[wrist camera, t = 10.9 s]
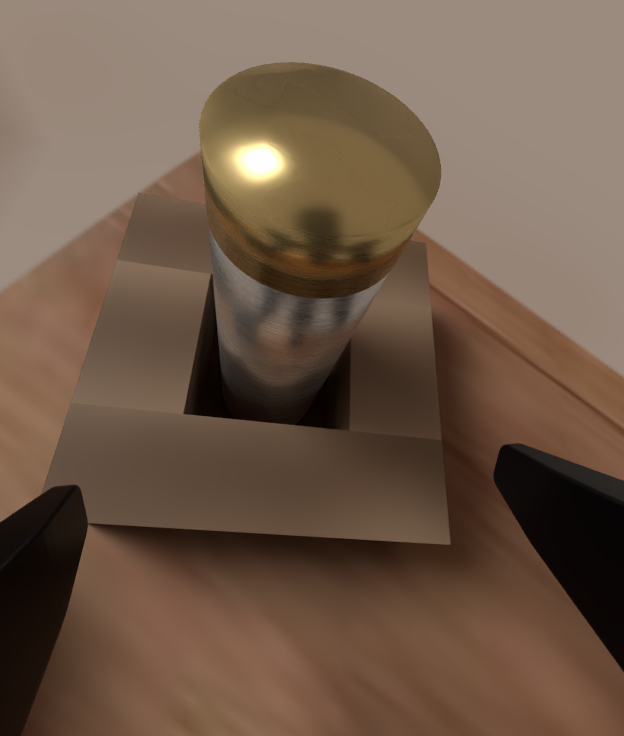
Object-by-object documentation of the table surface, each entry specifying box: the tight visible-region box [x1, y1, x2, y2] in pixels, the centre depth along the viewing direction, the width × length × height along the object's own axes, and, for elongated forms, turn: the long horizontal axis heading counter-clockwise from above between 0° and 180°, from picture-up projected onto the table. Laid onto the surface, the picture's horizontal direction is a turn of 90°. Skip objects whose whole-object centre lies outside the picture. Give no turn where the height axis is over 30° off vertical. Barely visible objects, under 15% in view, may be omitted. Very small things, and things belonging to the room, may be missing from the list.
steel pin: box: [199, 62, 441, 425], centre depth 12 cm, size 4×4×12 cm
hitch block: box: [42, 193, 451, 545], centre depth 15 cm, size 12×12×4 cm
